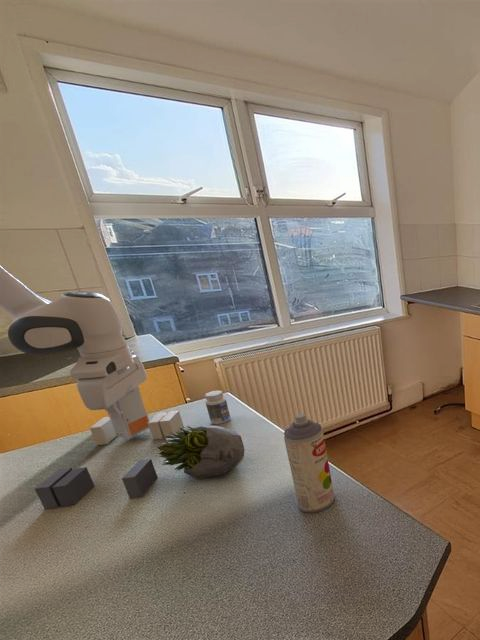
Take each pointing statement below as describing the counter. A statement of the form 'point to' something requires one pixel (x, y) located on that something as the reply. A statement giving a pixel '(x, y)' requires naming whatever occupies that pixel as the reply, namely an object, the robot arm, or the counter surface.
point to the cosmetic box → (130, 414)
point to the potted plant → (203, 450)
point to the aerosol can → (309, 465)
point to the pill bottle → (217, 407)
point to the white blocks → (157, 425)
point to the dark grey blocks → (91, 484)
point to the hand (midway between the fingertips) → (126, 410)
